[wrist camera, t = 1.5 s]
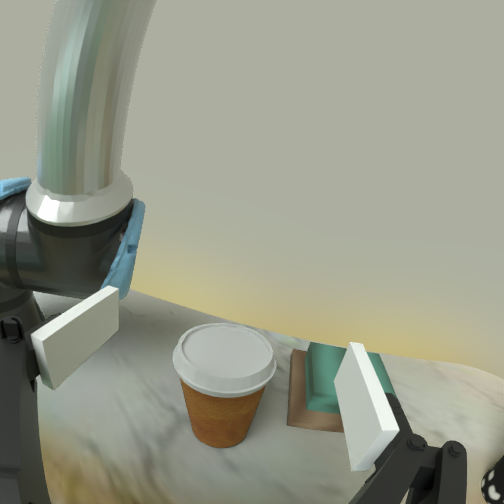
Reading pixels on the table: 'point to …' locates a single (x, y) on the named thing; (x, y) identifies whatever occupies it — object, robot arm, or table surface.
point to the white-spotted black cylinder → (494, 484)
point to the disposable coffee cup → (223, 379)
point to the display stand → (321, 386)
